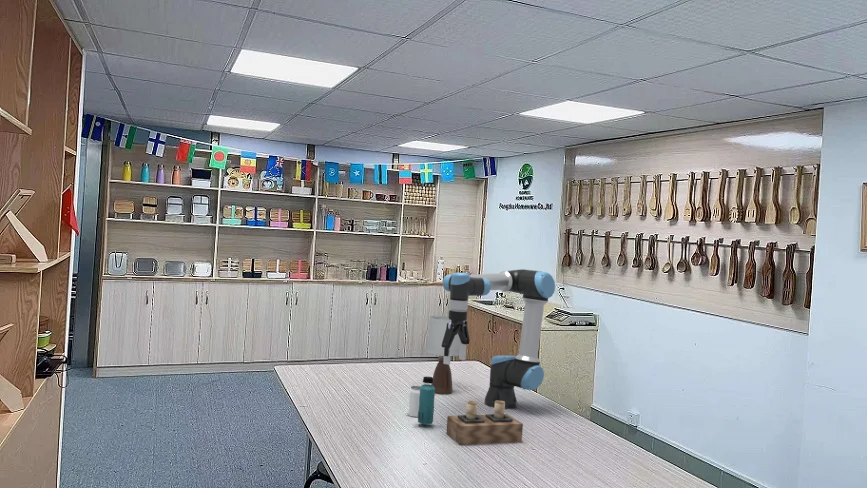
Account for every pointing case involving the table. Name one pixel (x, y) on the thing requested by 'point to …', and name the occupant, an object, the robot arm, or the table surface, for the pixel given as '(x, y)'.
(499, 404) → the peg
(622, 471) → the table surface
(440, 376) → the lamp
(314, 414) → the table surface
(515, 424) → the walnut block
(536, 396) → the table surface
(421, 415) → the beverage bottle
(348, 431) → the table surface
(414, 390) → the can
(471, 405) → the peg
